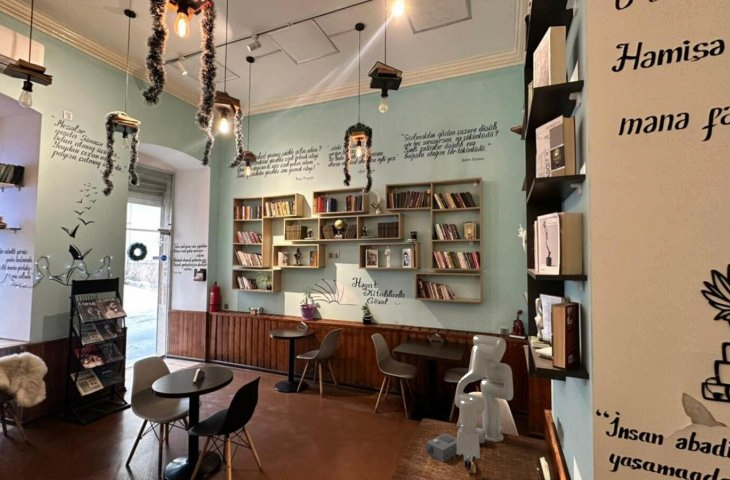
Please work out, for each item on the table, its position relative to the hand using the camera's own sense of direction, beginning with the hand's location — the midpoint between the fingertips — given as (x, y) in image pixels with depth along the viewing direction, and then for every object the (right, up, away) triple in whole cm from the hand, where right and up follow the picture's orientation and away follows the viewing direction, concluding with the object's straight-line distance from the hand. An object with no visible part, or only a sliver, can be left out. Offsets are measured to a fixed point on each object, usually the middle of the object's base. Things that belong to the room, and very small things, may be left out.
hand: (468, 469), depth 153 cm
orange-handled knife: (+2, -2, +8) cm, 8 cm away
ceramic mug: (+14, -5, +30) cm, 33 cm away
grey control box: (-7, -3, +17) cm, 19 cm away
